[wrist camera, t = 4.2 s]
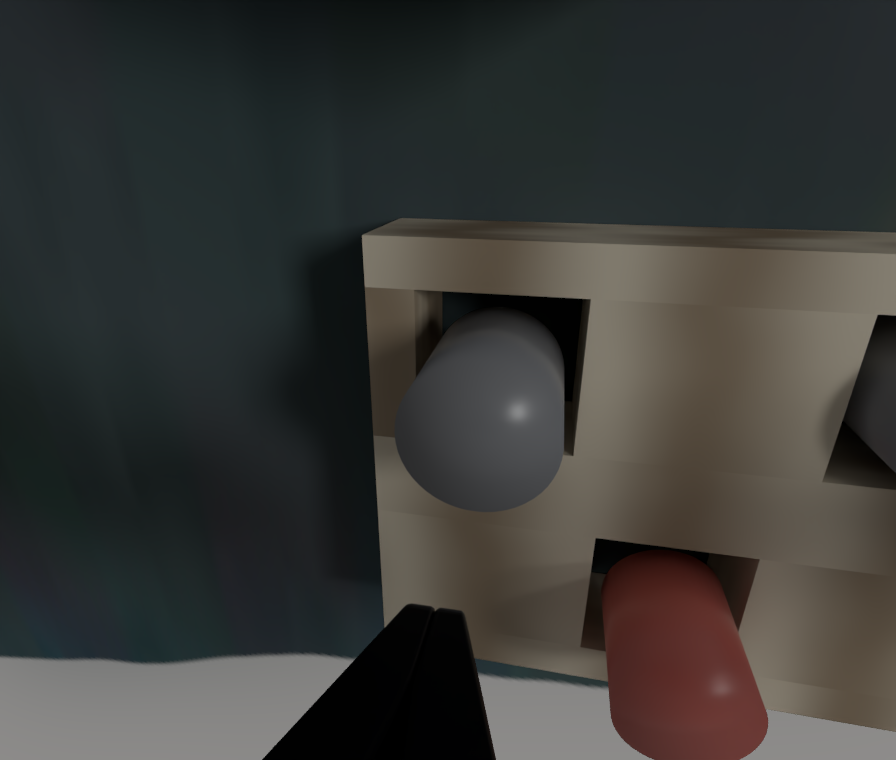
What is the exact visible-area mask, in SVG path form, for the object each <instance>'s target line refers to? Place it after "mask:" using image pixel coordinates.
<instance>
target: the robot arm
mask: <svg viewBox="0 0 896 760" xmlns="http://www.w3.org/2000/svg"><path fill="white" fill-rule="evenodd" d="M262 760H496V758H495V753H494V749H493V744H492V739H491V734H490V729H489V725H488V720H487V715H486V710H485V706H484V701H483V696H482V692H481V687H480V682H479V678H478V673H477V668H476V663H475V659H474V654H473V649H472V645H471V640H470V635H469V631H468V626H467V621H466V617H465V614H464V612H463V611H461V610H455V609H448V608H438V609H437V610H436V611H435V609H434V608H433V607H432V606H427V605H420V604H413V603H410V604H407V605H405V606H404V607H403V608H402V610H401V611H400V612H399V613H398V614H397V615H396V616H395V617H394V618H393V619H392V620H391V621H390V622H389V624H388V625H387V626H386V627H385V628H384V629H383V630H382V631H381V632H380V633H379V634H378V635H377V636H376V638H375V639H374V640H373V641H372V642H371V643H370V644H369V645H368V646H367V647H366V648H365V649H364V650H363V652H362V653H361V654H360V655H359V656H358V657H357V658H356V659H355V660H354V661H353V662H352V663H351V664H350V666H349V667H348V668H347V669H346V670H345V671H344V672H343V673H342V674H341V675H340V676H339V677H338V678H337V680H336V681H335V682H334V683H333V684H332V685H331V686H330V687H329V688H328V689H327V690H326V692H325V693H324V694H323V695H322V696H321V697H320V698H319V699H318V700H317V701H316V702H315V703H314V704H313V706H312V707H311V708H310V709H309V710H308V711H307V712H306V713H305V714H304V715H303V716H302V717H301V719H300V720H299V721H298V722H297V723H296V724H295V725H294V726H293V727H292V728H291V729H290V730H289V731H288V732H287V734H286V735H285V736H284V737H283V738H282V739H281V740H280V741H279V742H278V743H277V744H276V745H275V746H274V747H273V749H272V750H271V751H270V752H269V753H268V754H267V755H266V756H265V757H264V758H263V759H262Z"/></svg>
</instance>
